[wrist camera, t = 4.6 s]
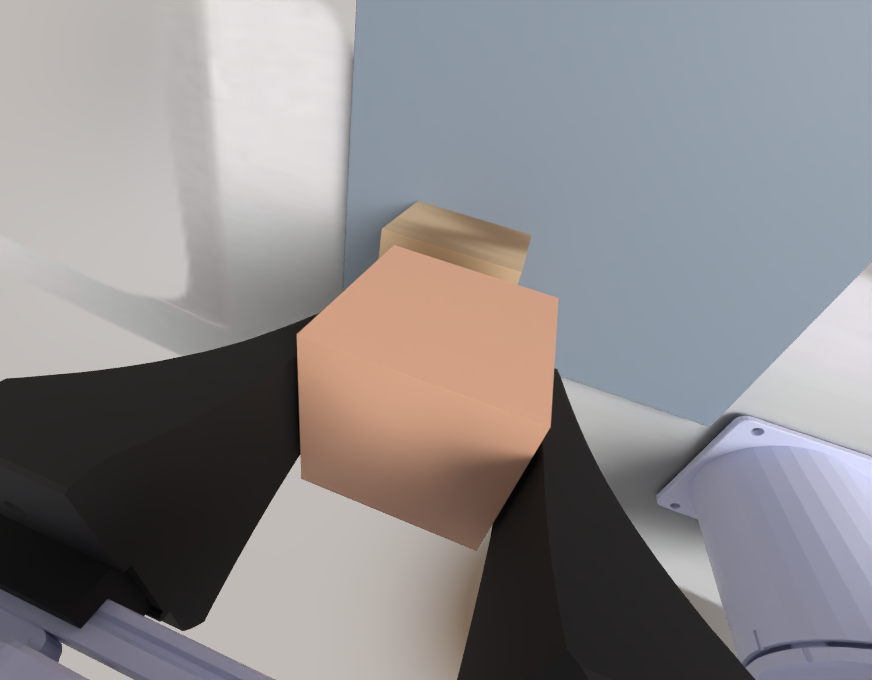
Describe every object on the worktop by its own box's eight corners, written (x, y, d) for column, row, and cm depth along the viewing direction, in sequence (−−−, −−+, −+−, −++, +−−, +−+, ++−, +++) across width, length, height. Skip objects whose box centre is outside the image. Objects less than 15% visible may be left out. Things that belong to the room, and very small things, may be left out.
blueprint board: (1090, 6, 10) (1126, 1, 9) (705, 415, 19) (709, 427, 19) (373, -128, 12) (363, -139, 11) (348, 295, 22) (342, 302, 21)
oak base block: (531, 234, 16) (521, 272, 13) (496, 331, 19) (482, 380, 16) (417, 200, 17) (381, 228, 14) (402, 299, 20) (369, 341, 17)
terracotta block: (558, 298, 10) (550, 426, 6) (504, 414, 13) (476, 550, 9) (394, 245, 10) (296, 334, 7) (376, 368, 13) (301, 478, 9)
